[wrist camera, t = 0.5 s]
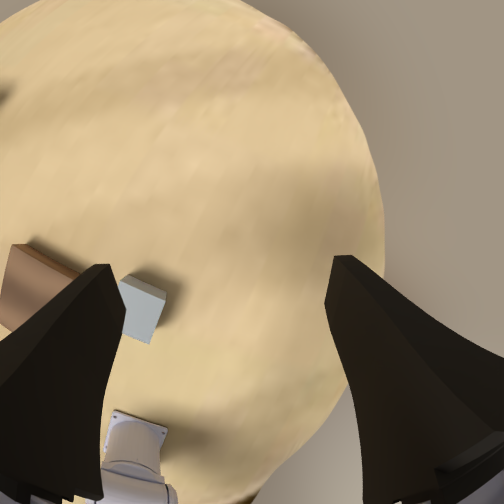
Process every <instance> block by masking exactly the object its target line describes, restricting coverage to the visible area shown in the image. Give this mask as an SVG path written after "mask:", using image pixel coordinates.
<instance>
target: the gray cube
mask: <svg viewBox="0 0 504 504" xmlns="http://www.w3.org/2000/svg"><path fill="white" fill-rule="evenodd" d="M118 289H119V291H120V294H121V297H122V299H123V302H124V304H125V307H126V309H127V310H126V315H125V321H124V326H123V331H122V333H123V334H125V335H127V336H130V337H132V338H134V339H137V340H139V341H142V342H144V343H147V344H150V341H151V338H152V335H153V333H154V330H155V327H156V325H157V322H158V320H159V317H160V315H161V312H162V309H163V307H164V304H165V302H166V294H167V292H166V291H163V290H161V289H159V288H156V287H154V286H152V285H150V284H147V283H145V282H143V281H141V280H139V279H136V278H134V277H132V276H130V275H127V276H125V277H124V278H123V279H122V280H120V282H119V285H118Z"/></svg>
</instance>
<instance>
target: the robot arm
mask: <svg viewBox="0 0 504 504" xmlns="http://www.w3.org/2000/svg"><path fill="white" fill-rule="evenodd" d="M324 305H325V309H326V314H327V319H328V323H329V327H330V331H331V334H332V337H333V340H334V343H335V345H336V348H337V351H338V354H339V357H340V360H341V362H342V365H343V368H344V371H345V374H346V377H347V380H348V383H349V386H350V390H351V393H352V397H353V402H354V407H355V412H356V418H357V424H358V431H359V438H360V446H361V456H362V471H363V504H394V503H397V502H399V501H401V502H402V504H504V358H503V357H500V356H498V355H496V354H494V353H492V352H490V351H488V350H486V349H484V348H482V347H480V346H478V345H476V344H474V343H473V342H471V341H469V340H467V339H466V338H464V337H462V336H460V335H459V334H457V333H456V332H454V331H452V330H451V329H449V328H448V327H446V326H445V325H443V324H442V323H440V322H439V321H437V320H435V319H434V318H433V317H431V316H430V315H428V314H427V313H426V312H424V311H423V310H422V309H420V308H419V307H418V306H416V305H415V304H414V303H412V302H411V301H410V300H408V299H407V298H406V297H404V296H403V295H402V294H401V293H399V292H398V291H397V290H396V289H394V288H393V287H392V286H391V285H390V284H388V283H387V282H386V281H385V280H383V279H382V278H381V277H380V276H378V275H377V274H376V273H375V272H374V271H372V270H371V269H370V268H369V267H367V266H366V265H365V264H363V263H362V262H361V261H359V260H358V259H357V258H355V257H354V256H352V255H340V256H334V259H333V264H332V269H331V274H330V279H329V284H328V289H327V293H326V298H325V302H324ZM126 310H127V309H126V307H125V304H124V302H123V299H122V297H121V294H120V291H119V289H118V286H117V283H116V280H115V278H114V275H113V272H112V269H111V266H110V264H94V265H93V266H91V267H90V268H88V269H87V270H86V271H84V272H83V273H82V274H80V275H79V276H78V277H77V278H76V279H74V280H73V281H72V282H71V283H70V284H68V285H67V286H66V287H65V288H64V289H63V290H61V291H60V292H59V293H58V294H57V295H56V296H55V297H53V298H52V299H51V300H50V301H49V302H48V303H47V304H45V305H44V306H43V307H42V308H41V309H40V310H38V311H37V312H36V313H35V314H34V315H33V316H31V317H30V318H29V319H28V320H27V321H26V322H24V323H23V324H22V325H21V326H20V327H18V328H17V329H16V330H15V331H13V332H12V333H11V334H9V335H8V336H7V337H5V338H4V339H3V340H1V341H0V504H62V499H65V500H67V501H69V502H73V500H74V495H77V496H80V497H83V498H85V503H86V504H178V498H177V493H176V490H175V489H174V488H173V487H172V485H170V484H165V481H164V477H163V476H161V472H160V449H161V446H162V444H163V442H164V439H165V437H166V435H167V432H168V429H167V428H166V427H163V426H160V425H156V424H153V423H150V422H147V421H144V420H141V419H138V418H135V417H132V416H129V415H127V414H124V413H121V412H119V411H113V413H112V416H111V420H110V424H109V428H108V432H107V436H106V440H105V444H104V448H103V451H104V452H105V453H106V455H105V460H104V461H102V466H101V469H100V427H101V416H102V407H103V400H104V395H105V390H106V386H107V383H108V379H109V376H110V372H111V369H112V365H113V362H114V359H115V355H116V352H117V349H118V346H119V342H120V339H121V336H122V331H123V326H124V321H125V315H126ZM114 416H116V417H114ZM162 432H165V433H162ZM106 446H107V447H106Z"/></svg>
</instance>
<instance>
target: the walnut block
mask: <svg viewBox="0 0 504 504" xmlns="http://www.w3.org/2000/svg"><path fill="white" fill-rule="evenodd" d="M79 275H80V274H79V273H77V272H75V271H73V270H72V269H70V268H68V267H66V266H64V265H62V264H60V263H58V262H57V261H55V260H53V259H51V258H49V257H48V256H46V255H44V254H42V253H40V252H39V251H37V250H35V249H34V248H32V247H30V246H28V245H27V244H13V245H12V246H11V249H10V253H9V257H8V261H7V265H6V269H5V274H4V279H3V284H2V289H1V295H0V324H1V325H3V326H4V327H6V328H7V329H9V330H10V331H11V332H13V331H15V330H16V329H17V328H18V327H20V326H21V325H22V324H23V323H24V322H26V321H27V320H28V319H29V318H30V317H31V316H33V315H34V314H35V313H36V312H37V311H38V310H40V309H41V308H42V307H43V306H44V305H45V304H47V303H48V302H49V301H50V300H51V299H52V298H53V297H55V296H56V295H57V294H58V293H59V292H60V291H61V290H63V289H64V288H65V287H66V286H67V285H68V284H70V283H71V282H72V281H73V280H74V279H76V278H77V277H78V276H79Z"/></svg>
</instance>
